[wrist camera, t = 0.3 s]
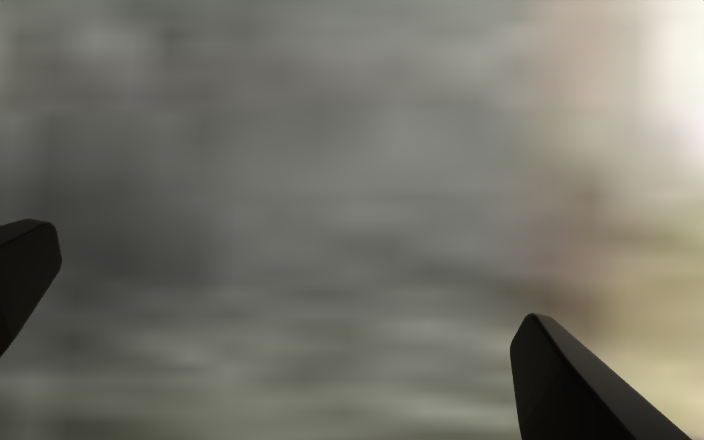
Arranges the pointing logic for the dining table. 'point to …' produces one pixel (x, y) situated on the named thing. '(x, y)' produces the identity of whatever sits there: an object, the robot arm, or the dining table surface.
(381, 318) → the dining table surface
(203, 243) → the dining table surface
